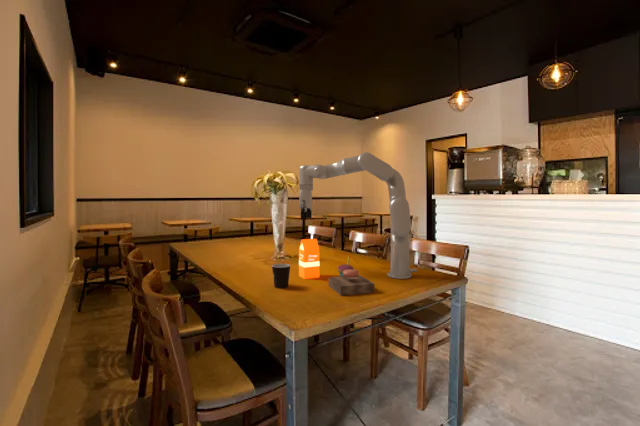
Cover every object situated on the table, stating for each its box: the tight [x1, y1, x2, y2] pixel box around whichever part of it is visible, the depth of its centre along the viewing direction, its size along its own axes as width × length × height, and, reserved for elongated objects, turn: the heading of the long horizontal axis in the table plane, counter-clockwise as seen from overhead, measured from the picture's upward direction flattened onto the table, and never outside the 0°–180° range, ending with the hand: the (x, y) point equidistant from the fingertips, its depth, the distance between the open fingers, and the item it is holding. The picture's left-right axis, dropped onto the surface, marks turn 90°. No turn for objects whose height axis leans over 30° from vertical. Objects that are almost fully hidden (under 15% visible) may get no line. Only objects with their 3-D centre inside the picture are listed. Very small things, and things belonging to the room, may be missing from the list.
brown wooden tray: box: [328, 274, 376, 296], centre depth 149 cm, size 16×16×4 cm
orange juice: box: [298, 238, 321, 280], centre depth 172 cm, size 8×9×20 cm
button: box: [343, 269, 359, 277], centre depth 149 cm, size 7×7×2 cm
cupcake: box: [336, 255, 355, 277], centre depth 169 cm, size 9×8×12 cm
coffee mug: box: [271, 263, 291, 289], centre depth 155 cm, size 12×9×10 cm
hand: (306, 218), depth 181 cm, fingers open, 9 cm apart
